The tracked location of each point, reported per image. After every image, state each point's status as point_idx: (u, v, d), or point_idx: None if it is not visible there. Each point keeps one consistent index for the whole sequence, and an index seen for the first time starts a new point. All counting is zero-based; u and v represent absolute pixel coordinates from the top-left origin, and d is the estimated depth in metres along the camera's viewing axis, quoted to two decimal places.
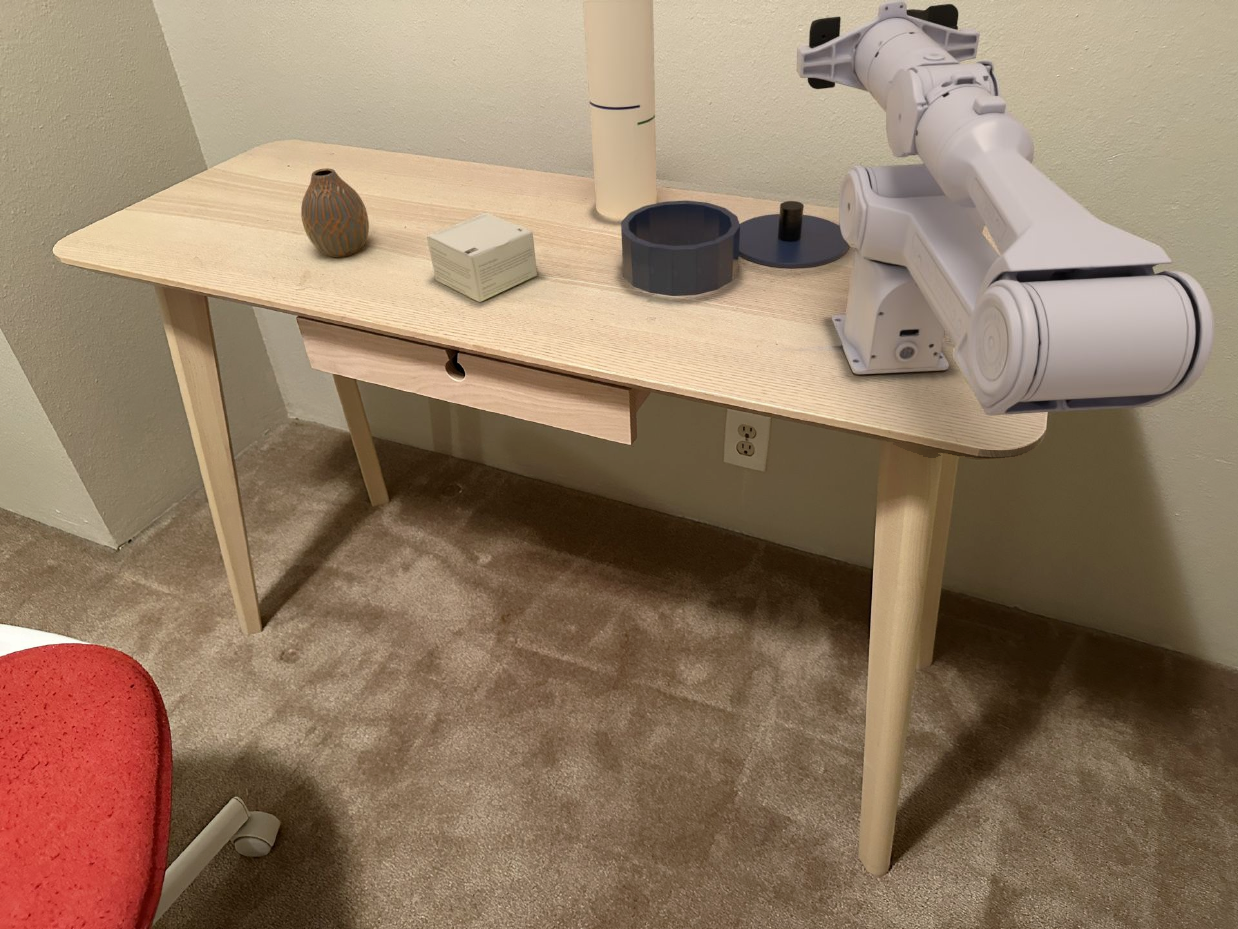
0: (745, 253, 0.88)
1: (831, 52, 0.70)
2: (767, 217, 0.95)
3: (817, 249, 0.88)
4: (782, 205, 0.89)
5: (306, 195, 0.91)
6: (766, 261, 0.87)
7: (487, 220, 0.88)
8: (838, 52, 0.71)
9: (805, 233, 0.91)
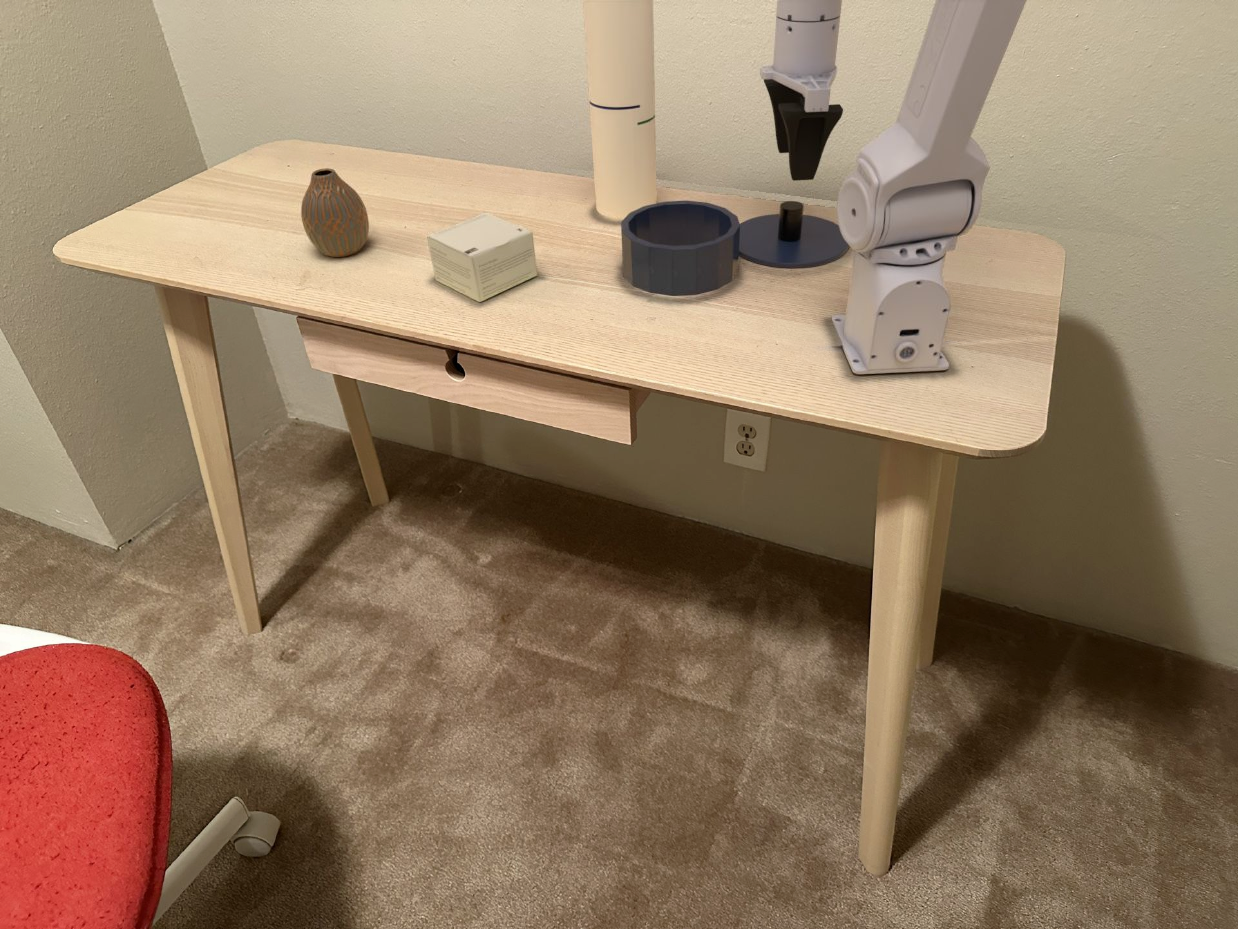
0: (745, 253, 0.88)
1: (805, 83, 0.77)
2: (767, 217, 0.95)
3: (817, 249, 0.88)
4: (782, 205, 0.89)
5: (306, 195, 0.91)
6: (766, 261, 0.87)
7: (487, 220, 0.88)
8: None
9: (805, 233, 0.91)
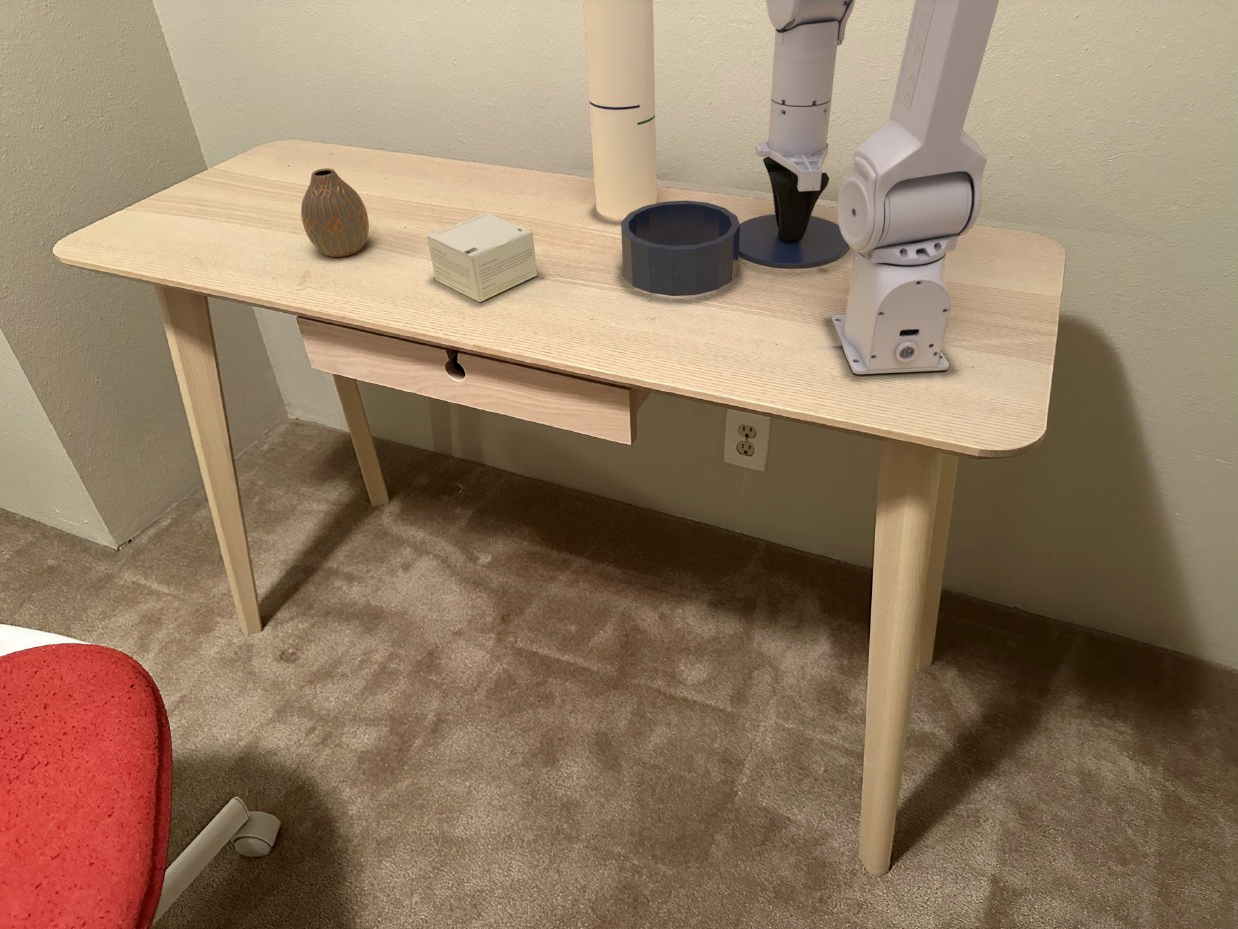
0: (745, 253, 0.88)
1: (798, 163, 0.81)
2: (767, 217, 0.95)
3: (817, 249, 0.88)
4: None
5: (306, 195, 0.91)
6: (766, 261, 0.87)
7: (487, 220, 0.88)
8: None
9: (805, 233, 0.91)
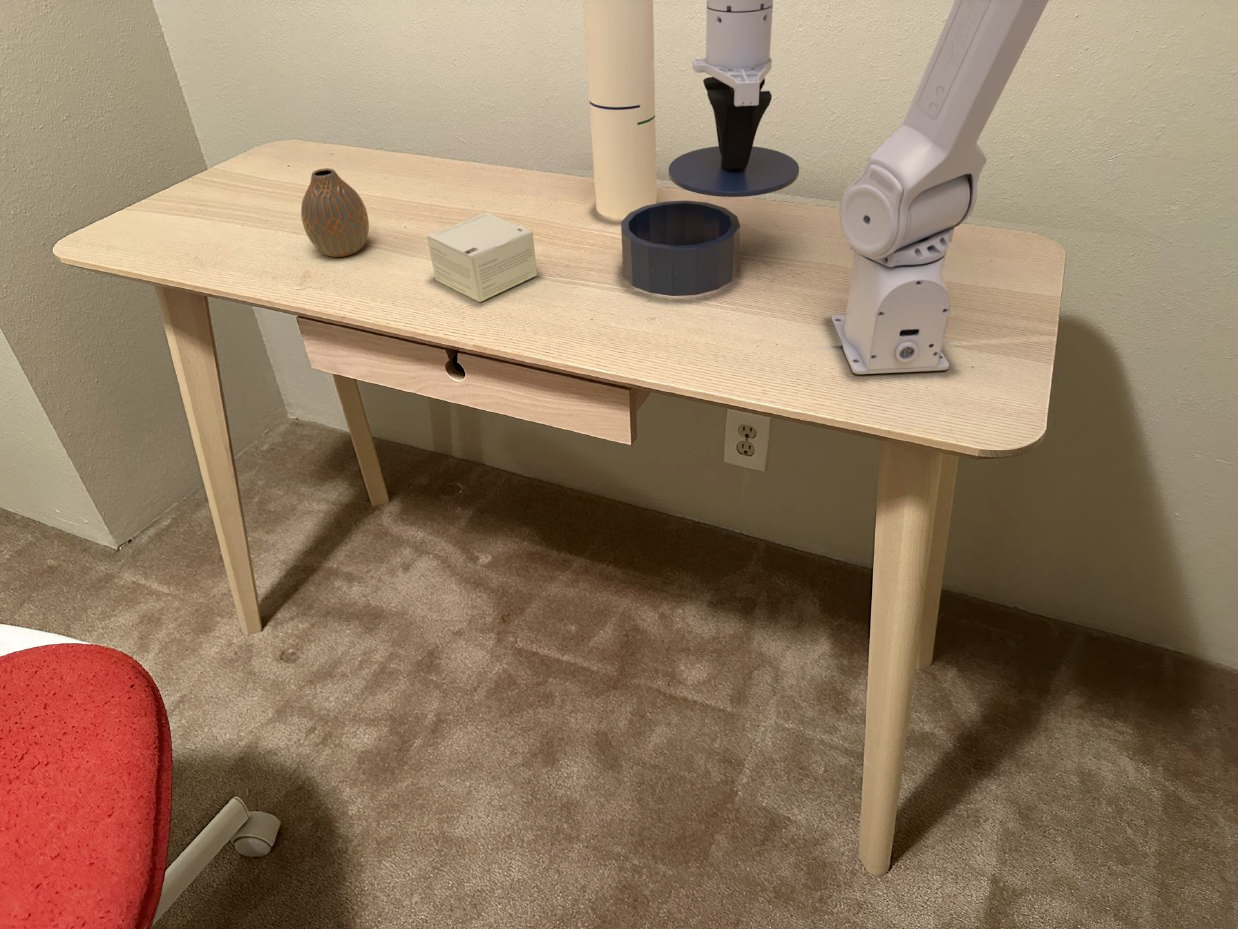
0: (683, 182, 0.81)
1: (735, 76, 0.74)
2: (712, 148, 0.87)
3: (762, 178, 0.81)
4: None
5: (306, 195, 0.91)
6: (705, 190, 0.79)
7: (487, 220, 0.88)
8: None
9: (751, 163, 0.84)
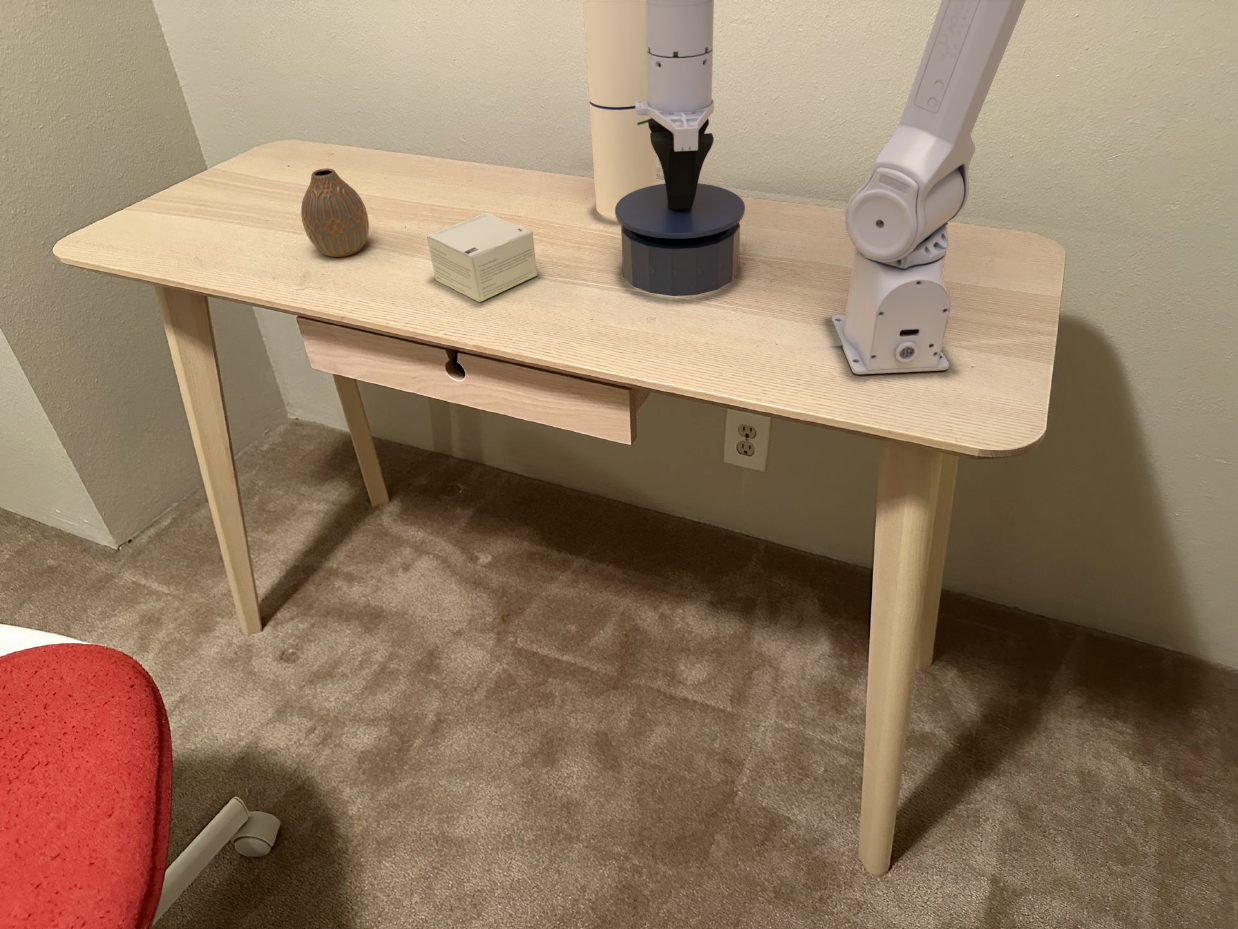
0: (628, 223, 0.81)
1: (675, 121, 0.74)
2: (661, 186, 0.88)
3: (707, 218, 0.81)
4: None
5: (306, 195, 0.91)
6: (649, 231, 0.79)
7: (487, 220, 0.88)
8: None
9: (698, 202, 0.84)
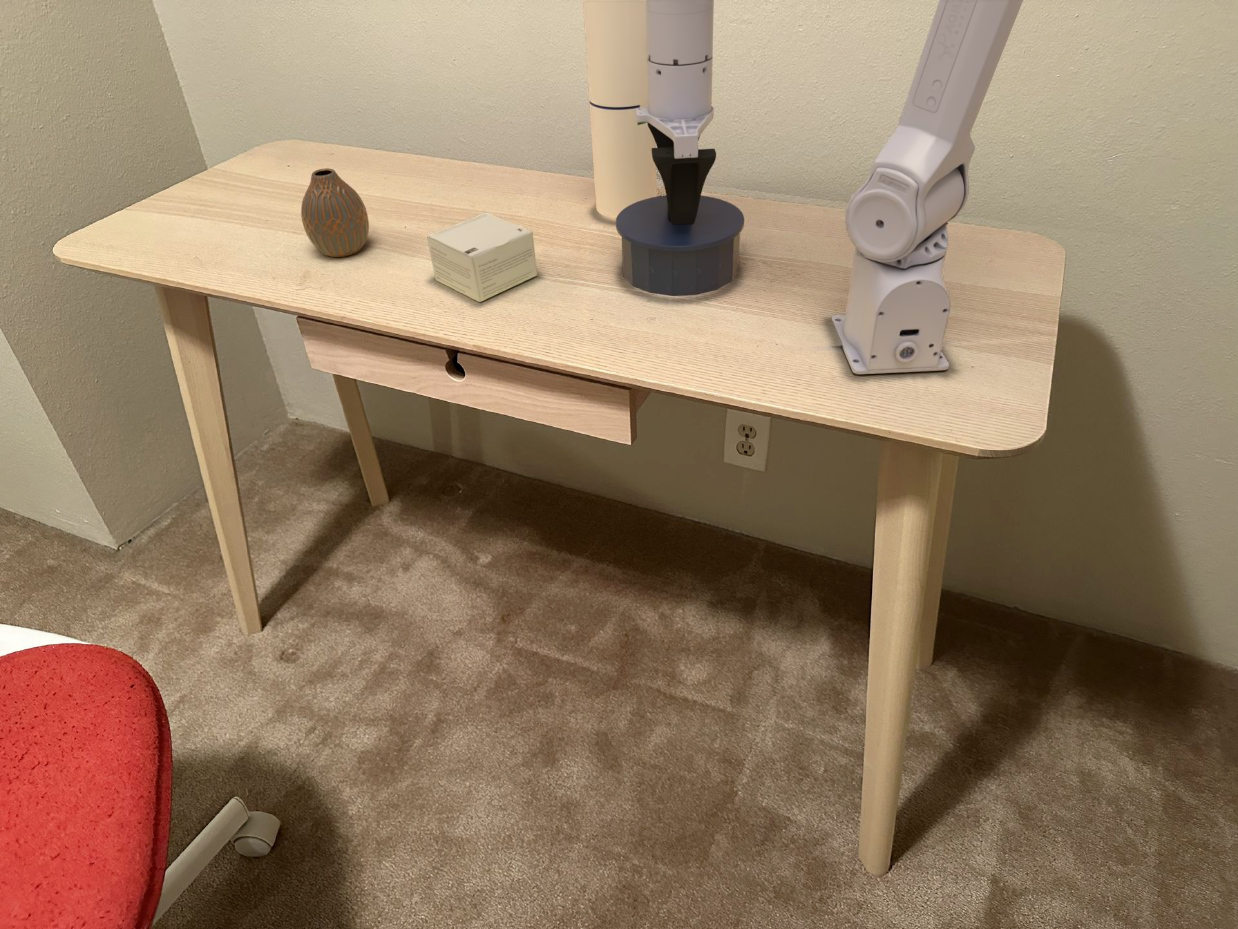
0: (628, 235, 0.81)
1: (675, 128, 0.74)
2: (661, 198, 0.88)
3: (706, 231, 0.81)
4: None
5: (306, 195, 0.91)
6: (649, 244, 0.80)
7: (487, 220, 0.88)
8: None
9: (697, 214, 0.85)
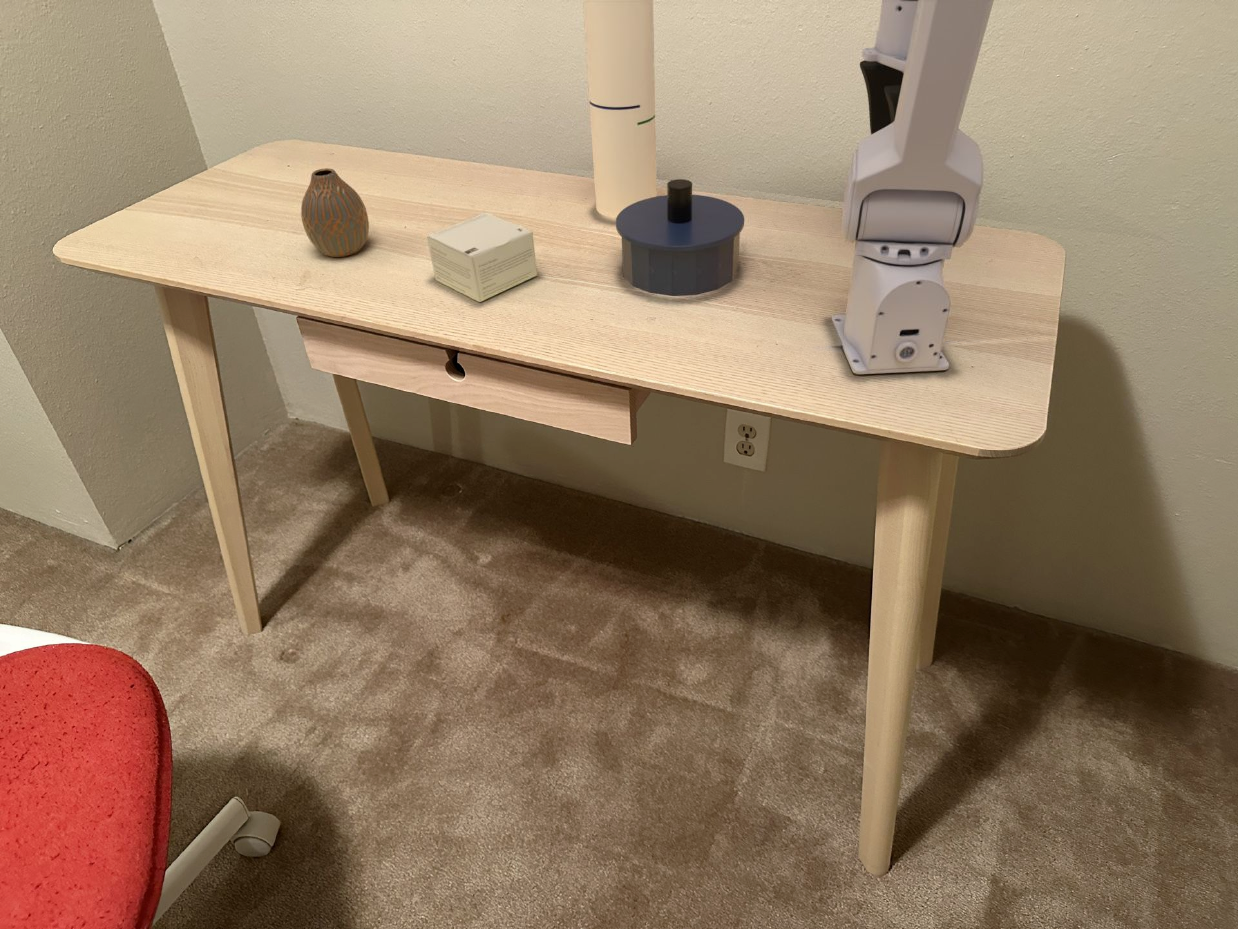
0: (628, 235, 0.81)
1: None
2: (661, 198, 0.88)
3: (706, 231, 0.81)
4: (669, 183, 0.82)
5: (306, 195, 0.91)
6: (649, 244, 0.80)
7: (487, 220, 0.88)
8: None
9: (697, 214, 0.85)
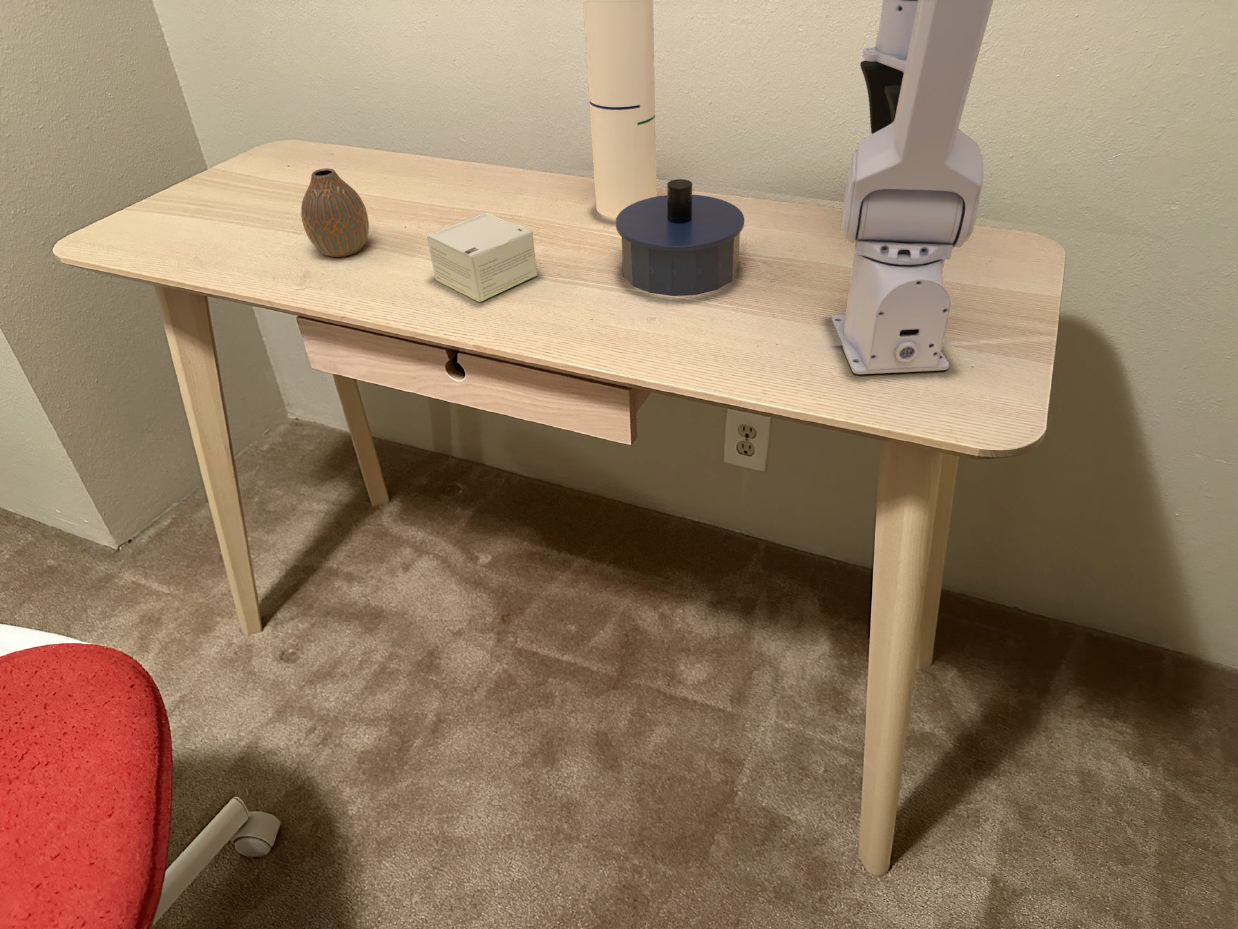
0: (628, 235, 0.81)
1: None
2: (661, 198, 0.88)
3: (706, 231, 0.81)
4: (669, 183, 0.82)
5: (306, 195, 0.91)
6: (649, 244, 0.80)
7: (487, 220, 0.88)
8: None
9: (697, 214, 0.85)
